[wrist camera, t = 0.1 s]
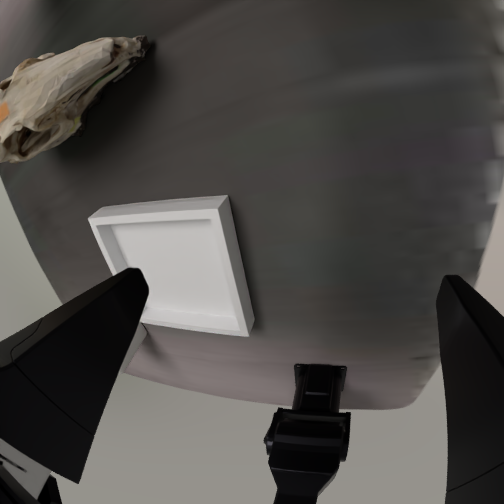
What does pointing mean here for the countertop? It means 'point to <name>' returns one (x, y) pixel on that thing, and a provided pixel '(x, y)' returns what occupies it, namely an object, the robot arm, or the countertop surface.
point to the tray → (181, 261)
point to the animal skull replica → (60, 93)
